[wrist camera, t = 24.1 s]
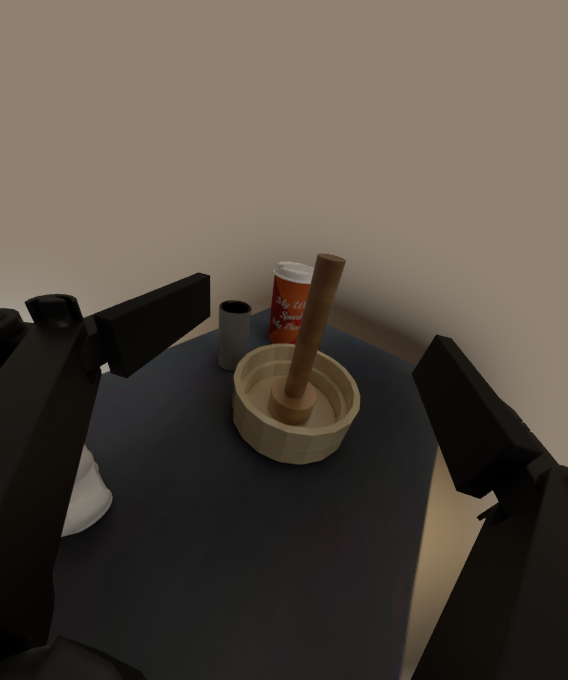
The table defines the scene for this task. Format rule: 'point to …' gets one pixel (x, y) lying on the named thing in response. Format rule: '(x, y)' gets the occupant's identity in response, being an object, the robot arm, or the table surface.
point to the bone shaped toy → (86, 496)
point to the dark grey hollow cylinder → (233, 333)
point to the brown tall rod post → (307, 345)
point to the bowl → (293, 440)
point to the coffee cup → (288, 301)
